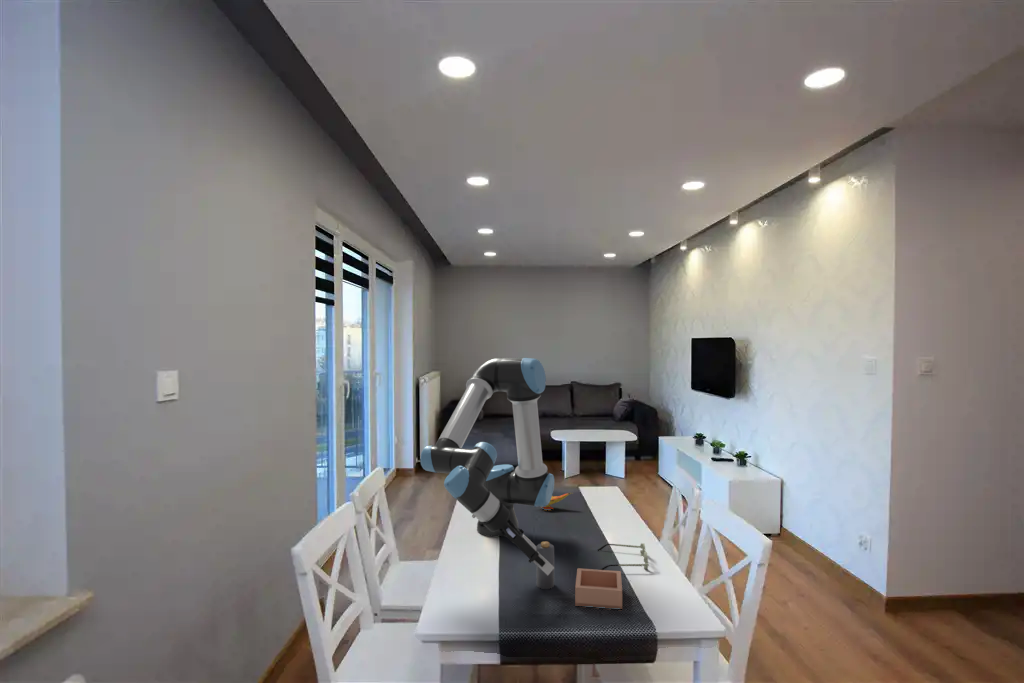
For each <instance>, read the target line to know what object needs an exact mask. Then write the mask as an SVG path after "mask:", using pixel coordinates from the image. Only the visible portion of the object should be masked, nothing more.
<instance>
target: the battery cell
mask: <svg viewBox="0 0 1024 683" xmlns="http://www.w3.org/2000/svg"><path fill="white" fill-rule="evenodd" d="M535 546H536V551H538V552H539V553H540V554H541V555H542V556H543V557H544V558H545V559H546V560H547V561H548V562H549V563H550V564H551V565H552V566H553V567H554V569H553V570H552V571H551V573H550V574H549V575H547V574H546V573H544V572H543V571H542V570H541V569H540V568H539V567H538V566H537V565H536V564H535V566H536V587H537V588H538V589H540V588H541V590H550V588H551V589H553V588H554V587H555V546H554V545H553V544H552V543H550V542H549V541H541V542H540V543H537V545H535ZM552 587H553V588H552Z"/></svg>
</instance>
